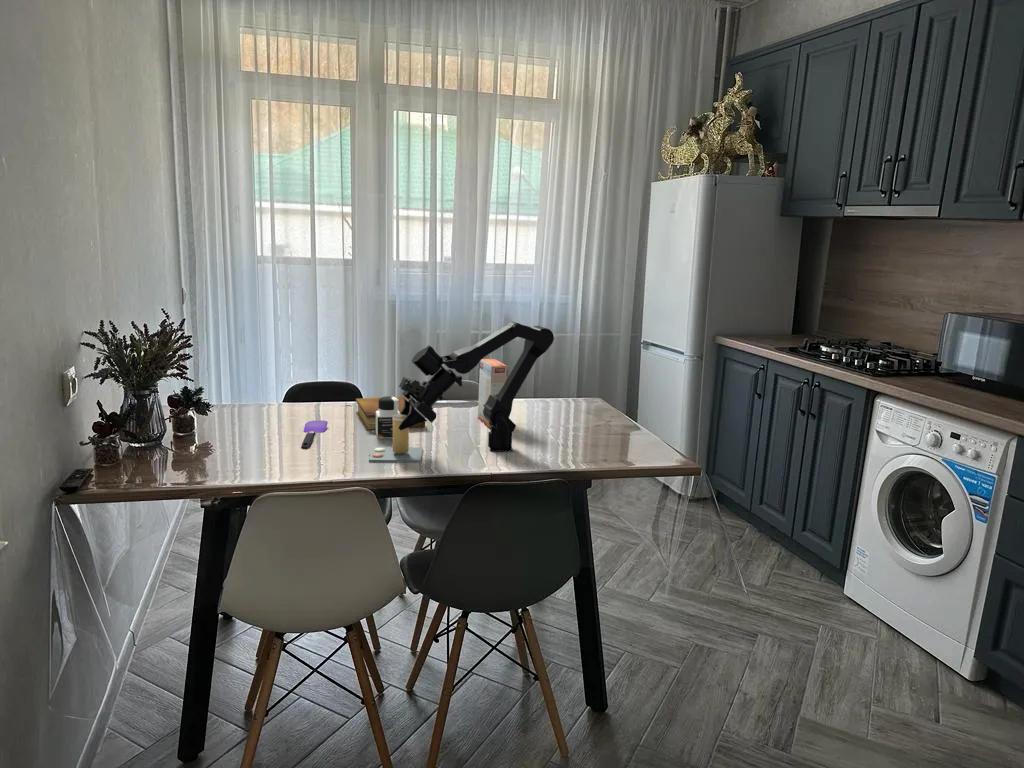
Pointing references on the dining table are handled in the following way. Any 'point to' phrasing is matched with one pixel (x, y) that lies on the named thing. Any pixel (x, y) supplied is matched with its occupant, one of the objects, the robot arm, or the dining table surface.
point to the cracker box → (490, 383)
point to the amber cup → (400, 435)
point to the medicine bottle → (386, 416)
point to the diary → (368, 412)
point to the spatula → (313, 431)
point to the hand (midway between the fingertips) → (397, 426)
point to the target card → (395, 455)
